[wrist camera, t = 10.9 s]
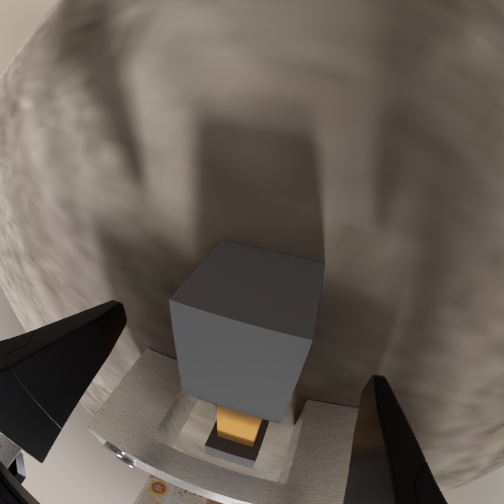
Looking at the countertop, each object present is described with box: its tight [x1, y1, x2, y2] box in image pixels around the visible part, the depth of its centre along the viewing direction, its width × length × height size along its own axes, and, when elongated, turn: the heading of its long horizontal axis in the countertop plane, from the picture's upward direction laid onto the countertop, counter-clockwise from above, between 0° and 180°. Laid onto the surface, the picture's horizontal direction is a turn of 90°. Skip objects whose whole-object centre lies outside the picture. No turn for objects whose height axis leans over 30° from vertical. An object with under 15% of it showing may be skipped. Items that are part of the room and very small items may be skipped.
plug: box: [169, 240, 325, 468], centre depth 12 cm, size 15×4×4 cm, turn 175°
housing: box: [87, 348, 359, 504], centre depth 12 cm, size 4×14×7 cm, turn 85°
